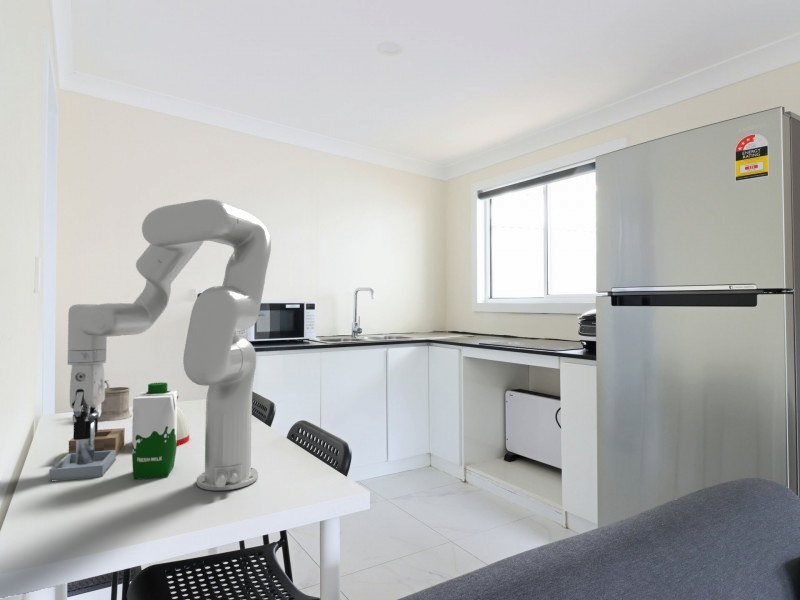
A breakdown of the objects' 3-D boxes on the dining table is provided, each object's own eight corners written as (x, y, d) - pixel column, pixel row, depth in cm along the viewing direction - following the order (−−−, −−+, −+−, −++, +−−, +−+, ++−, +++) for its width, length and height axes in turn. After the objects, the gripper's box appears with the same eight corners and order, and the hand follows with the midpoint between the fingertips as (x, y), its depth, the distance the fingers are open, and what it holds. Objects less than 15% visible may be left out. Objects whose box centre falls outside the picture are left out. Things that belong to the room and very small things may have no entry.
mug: (137, 416, 163) (138, 381, 163) (107, 422, 155) (108, 385, 155) (115, 411, 171) (116, 378, 171) (85, 416, 162) (86, 381, 163)
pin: (94, 464, 108) (95, 415, 108) (68, 466, 106) (69, 416, 106) (100, 457, 113) (101, 410, 113) (75, 460, 111) (76, 412, 111)
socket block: (115, 457, 118) (115, 437, 118) (68, 461, 115) (68, 441, 115) (124, 446, 128) (124, 428, 128) (81, 449, 125) (81, 430, 125)
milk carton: (178, 465, 113) (180, 381, 114) (171, 478, 105) (172, 387, 105) (138, 468, 111) (139, 382, 111) (126, 481, 102) (128, 389, 103)
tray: (102, 476, 105) (102, 465, 105) (49, 481, 102) (49, 469, 102) (115, 460, 117) (115, 449, 117) (68, 464, 113) (68, 453, 113)
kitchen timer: (135, 439, 136) (136, 386, 136) (187, 433, 142) (188, 383, 142) (132, 452, 123) (134, 394, 124) (190, 445, 130) (191, 391, 130)
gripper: (95, 360, 103) (94, 444, 103) (114, 353, 119) (113, 426, 119) (54, 361, 101) (53, 447, 100) (79, 354, 117) (78, 428, 116)
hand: (85, 435), depth 109 cm, fingers closed on pin, 4 cm apart
